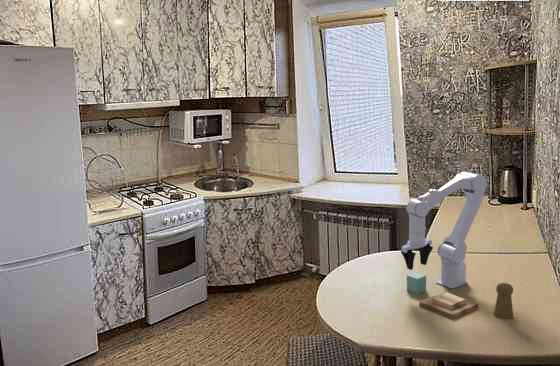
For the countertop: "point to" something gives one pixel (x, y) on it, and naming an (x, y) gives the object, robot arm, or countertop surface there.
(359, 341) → the countertop surface
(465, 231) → the robot arm
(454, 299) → the walnut stand
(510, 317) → the salt shaker
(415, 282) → the teal block
